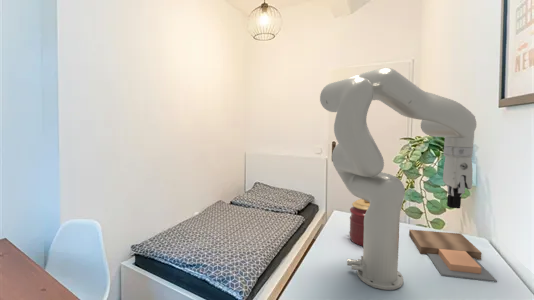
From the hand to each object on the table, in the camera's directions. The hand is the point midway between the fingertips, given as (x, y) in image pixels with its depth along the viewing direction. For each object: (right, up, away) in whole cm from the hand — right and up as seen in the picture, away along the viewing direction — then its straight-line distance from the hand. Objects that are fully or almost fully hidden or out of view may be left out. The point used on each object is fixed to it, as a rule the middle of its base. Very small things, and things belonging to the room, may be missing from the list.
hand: (453, 207), depth 86 cm
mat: (-1, -18, -3) cm, 19 cm away
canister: (-22, -17, +17) cm, 32 cm away
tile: (0, -18, -2) cm, 18 cm away
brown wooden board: (+3, -17, +10) cm, 20 cm away
